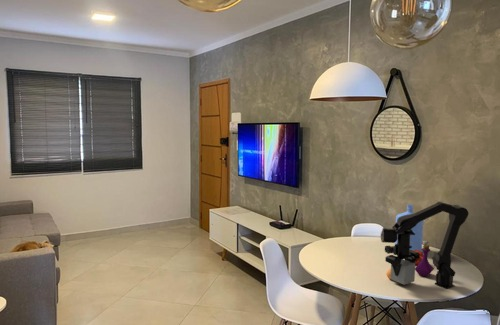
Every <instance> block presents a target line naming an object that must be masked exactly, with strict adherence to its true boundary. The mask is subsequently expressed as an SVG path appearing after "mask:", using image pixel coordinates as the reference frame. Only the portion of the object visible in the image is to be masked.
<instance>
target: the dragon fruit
mask: <svg viewBox="0 0 500 325" xmlns="http://www.w3.org/2000/svg"><path fill="white" fill-rule="evenodd" d="M413 251H416V252H418V253H419V254H420V258H419V259H417V261H416V262H415V267H417V266H418V264H419V263H420V262H421V261H422V258H423V254H424V252H423V251H421V252H420V251H419V250H413Z"/></svg>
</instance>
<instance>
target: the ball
mask: <svg viewBox="0 0 500 325" xmlns="http://www.w3.org/2000/svg"><path fill="white" fill-rule="evenodd" d="M386 277H387V279H389V280H391V268H390V269H388V270H386Z"/></svg>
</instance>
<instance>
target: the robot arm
mask: <svg viewBox="0 0 500 325" xmlns="http://www.w3.org/2000/svg"><path fill="white" fill-rule="evenodd" d="M442 212H444V213H446V214H447V213H448V220H449V223H448V226H447V229H446V232H445V234H444V237H443V241H442V244H441V247H440V250H439V251H434V252H433V253H434V254H433V256H432V258H431V259H432V264H433V265H434V268H435V267H436V270H437V271H436V275H435V282H434V285H437V286H439V287H441V288H443V289H447V290H448V289H450V288H454V287H455V284H454V277H455V275H456V271H455V270H454V269H453V268H452V267H451V266H452V252H453V249H454V246H455V243H456V240H457V237H458V234H459V231H460V229H461V226H462V225H463V224H464V223H465V222H466V221H467V218H468V217H469V210H468V209H467V208H466V207H464V206H461V205H460V204H454V205H453V204H448V203H445V202H442V201H437V202H436V203H434V204H432V205H429V206H427V207H425V208H423V209H421V210H419V211H416V212H413V213H414V214H409V215H404V216H401V217H399V218H398V220H397V223H396V222H395V224H393V226H392V227H391V228H385V227H382V230H381V232H380V240H381V243H387V244H388V243H389V244H390V243H391V244H394V245H392V246H391V245H385V246H384V252H385V253H387V254H388V255H386V256H385V262H386V263H388V264H390V266H391V265H392V267H393V269H394V273H395V276H398V274H399V271H400V268H401V266H402V264H400V263H401V260H402V259H403V260H406V261H409V262H412V263H415V262H416V261H417V259H419V258H420V254H419V253H418V252H416V251H413V250H410V248H412V246H411V245H410V235H415V233H414V232H413V231H412V230H411V229H412V228H413V227H415V226H416V225H417V224H418V223H419V222H421V221H423V222H424V221H425V220H426V219H429V218H431V217H433V216H436V215H438V214H440V213H442ZM397 234H398V238H397ZM396 241H397V244H395V242H396Z"/></svg>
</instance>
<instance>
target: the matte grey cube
mask: <svg viewBox="0 0 500 325" xmlns="http://www.w3.org/2000/svg"><path fill="white" fill-rule="evenodd" d="M400 264H402V266H401V268H400V271H399V274H398V276H395V273H394V269H393V267H392V265H391V264H390V269H391V279H390V280H392V281H394V282H397V283H398V284H401V285H407V284H411V283H414V282H415V278H416V270H415V268H416V265H415V263H412V262H409V261H406V260H405V259H402V260H401V263H400Z"/></svg>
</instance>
